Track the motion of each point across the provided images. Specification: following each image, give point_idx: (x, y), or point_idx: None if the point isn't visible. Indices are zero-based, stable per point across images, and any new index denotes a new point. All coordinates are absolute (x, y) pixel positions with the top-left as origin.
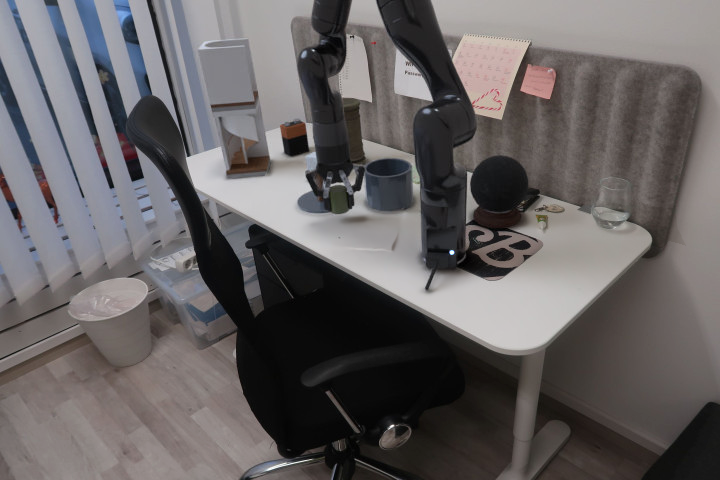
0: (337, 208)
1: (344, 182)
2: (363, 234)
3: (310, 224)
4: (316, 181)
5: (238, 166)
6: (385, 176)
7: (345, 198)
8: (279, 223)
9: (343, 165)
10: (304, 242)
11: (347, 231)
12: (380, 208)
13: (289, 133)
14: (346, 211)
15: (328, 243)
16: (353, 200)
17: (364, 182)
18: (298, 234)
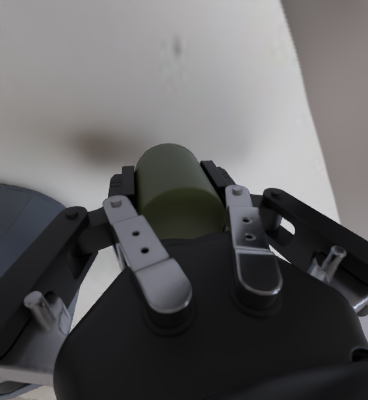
0: (181, 152)
1: (147, 232)
2: (85, 46)
3: (245, 162)
4: None
5: None
6: None
7: (146, 180)
8: (310, 181)
9: (147, 365)
10: (290, 50)
11: (146, 90)
12: (30, 198)
13: None
14: (145, 152)
15: (220, 11)
16: (112, 187)
17: (76, 296)
18: (289, 112)
